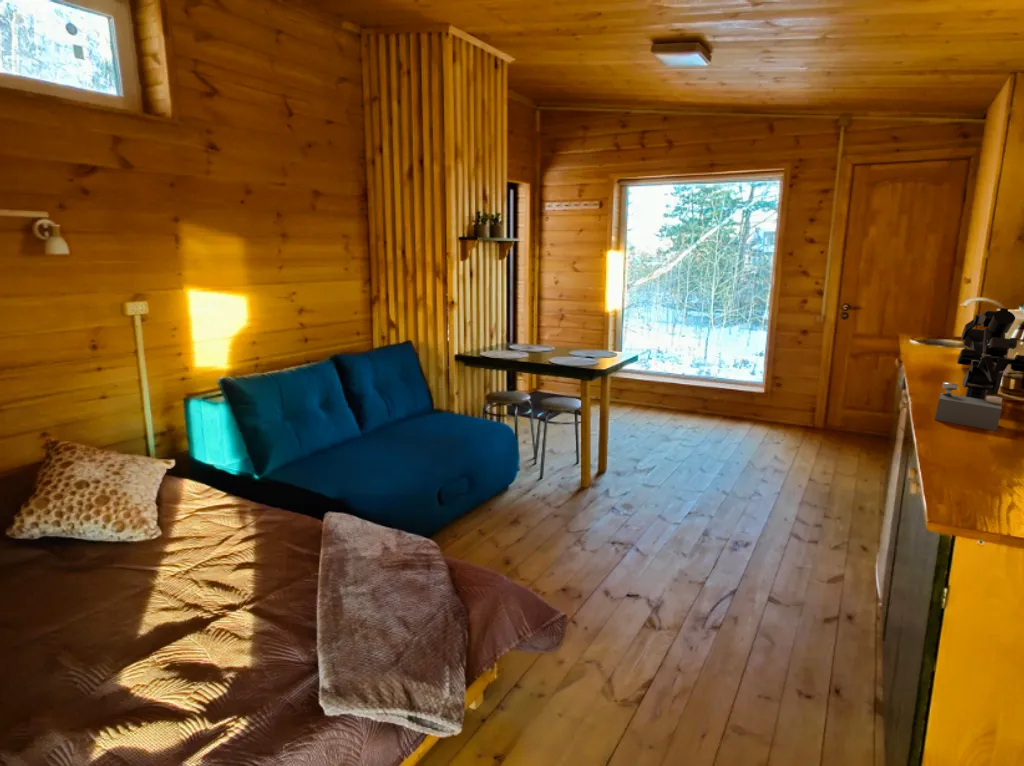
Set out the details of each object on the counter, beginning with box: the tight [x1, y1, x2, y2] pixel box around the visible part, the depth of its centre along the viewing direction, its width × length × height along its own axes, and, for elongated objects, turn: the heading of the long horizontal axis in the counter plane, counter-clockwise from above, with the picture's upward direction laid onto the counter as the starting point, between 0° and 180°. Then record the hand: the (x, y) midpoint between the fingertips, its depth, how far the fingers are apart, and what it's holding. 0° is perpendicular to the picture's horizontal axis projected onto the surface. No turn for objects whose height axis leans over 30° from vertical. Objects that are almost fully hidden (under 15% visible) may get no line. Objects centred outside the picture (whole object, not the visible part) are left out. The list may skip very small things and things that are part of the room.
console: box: [934, 392, 1003, 432], centre depth 203 cm, size 10×16×7 cm, turn 55°
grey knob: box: [941, 381, 959, 396], centre depth 207 cm, size 4×4×4 cm
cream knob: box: [985, 395, 1003, 405], centre depth 201 cm, size 4×4×4 cm
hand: (992, 381), depth 206 cm, fingers closed
